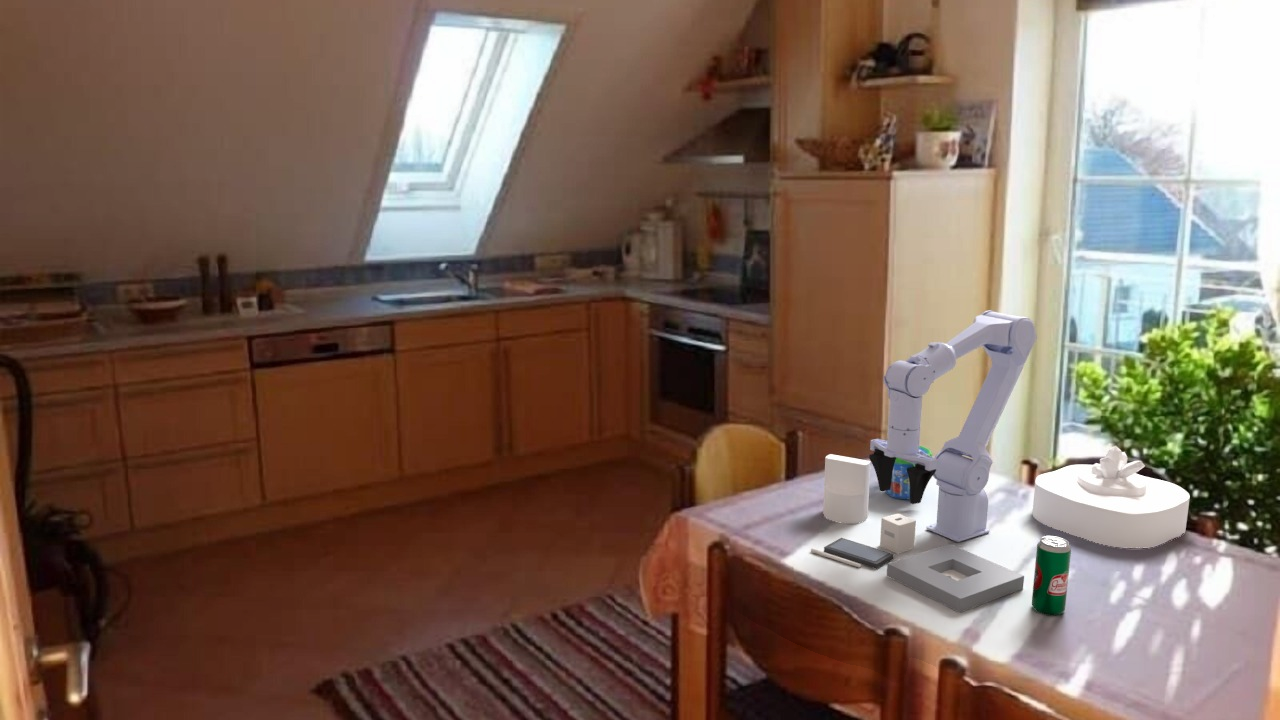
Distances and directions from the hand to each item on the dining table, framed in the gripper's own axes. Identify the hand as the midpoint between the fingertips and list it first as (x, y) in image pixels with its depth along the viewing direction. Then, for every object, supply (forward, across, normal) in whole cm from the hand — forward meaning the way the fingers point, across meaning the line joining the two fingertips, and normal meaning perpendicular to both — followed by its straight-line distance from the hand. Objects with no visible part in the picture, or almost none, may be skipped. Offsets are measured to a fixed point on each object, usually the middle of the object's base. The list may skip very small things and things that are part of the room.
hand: (899, 496), depth 180 cm
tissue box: (+10, +13, +46) cm, 49 cm away
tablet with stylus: (+10, -2, -10) cm, 14 cm away
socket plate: (+10, +16, -3) cm, 19 cm away
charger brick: (+10, 0, 0) cm, 10 cm away
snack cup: (+10, -19, +22) cm, 31 cm away
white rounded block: (+10, -17, +3) cm, 20 cm away
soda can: (+10, +31, +2) cm, 33 cm away
